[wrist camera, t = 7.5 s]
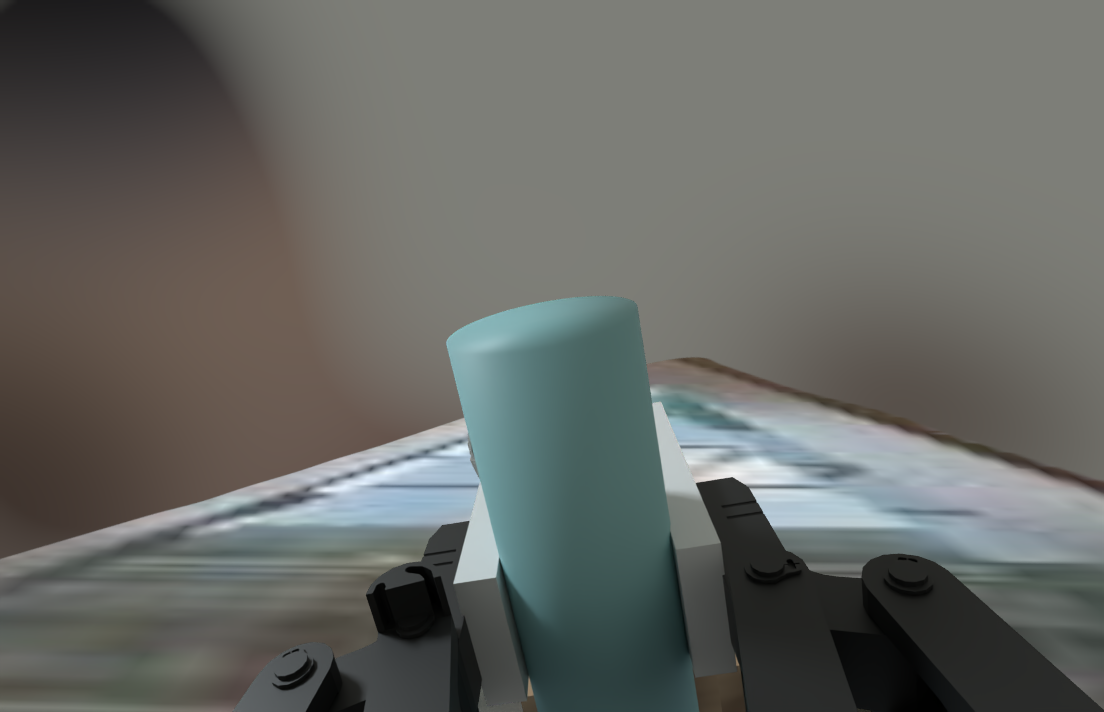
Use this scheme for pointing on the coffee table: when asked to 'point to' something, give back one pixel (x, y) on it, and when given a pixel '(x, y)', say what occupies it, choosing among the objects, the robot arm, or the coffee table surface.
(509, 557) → the dowel
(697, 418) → the coffee table surface
